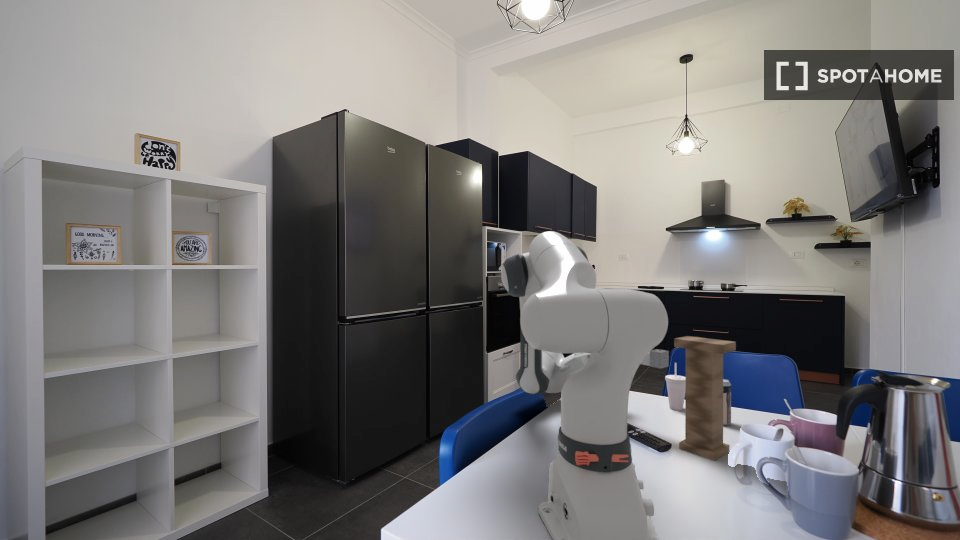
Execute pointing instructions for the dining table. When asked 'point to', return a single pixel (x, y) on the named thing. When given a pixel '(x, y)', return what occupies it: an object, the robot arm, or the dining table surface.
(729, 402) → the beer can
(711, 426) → the walnut stand
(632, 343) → the robot arm
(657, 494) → the dining table surface
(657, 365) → the grey long block
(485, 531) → the dining table surface
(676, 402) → the smoothie
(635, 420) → the dining table surface
